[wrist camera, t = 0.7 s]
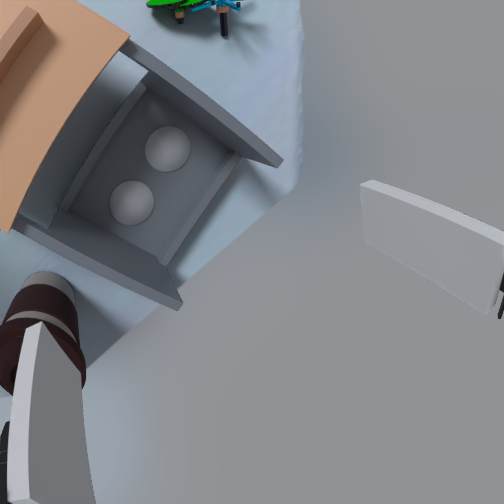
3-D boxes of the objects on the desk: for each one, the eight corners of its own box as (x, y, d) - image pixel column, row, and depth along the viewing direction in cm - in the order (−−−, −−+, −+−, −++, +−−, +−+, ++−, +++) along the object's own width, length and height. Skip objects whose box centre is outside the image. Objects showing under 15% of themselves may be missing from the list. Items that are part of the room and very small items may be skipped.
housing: (-57, 137, 20) (-104, 149, 12) (25, 2, 19) (1, -34, 10) (158, 264, 38) (177, 311, 30) (238, 147, 37) (283, 159, 28)
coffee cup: (51, 341, 35) (47, 430, 23) (-2, 292, 30) (-33, 375, 18) (100, 299, 37) (109, 386, 24) (47, 242, 31) (21, 316, 19)
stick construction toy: (253, -27, 26) (269, -12, 22) (253, 20, 32) (267, 45, 29) (147, -14, 25) (141, 4, 22) (156, 34, 31) (153, 61, 28)
